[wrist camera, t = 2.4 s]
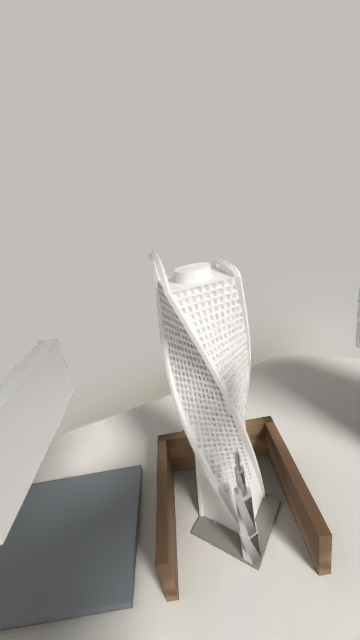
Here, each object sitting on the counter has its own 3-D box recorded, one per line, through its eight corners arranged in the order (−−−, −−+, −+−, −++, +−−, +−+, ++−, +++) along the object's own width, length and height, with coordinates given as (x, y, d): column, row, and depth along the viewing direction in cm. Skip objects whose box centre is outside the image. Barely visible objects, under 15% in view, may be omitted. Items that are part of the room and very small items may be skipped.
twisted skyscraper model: (179, 528, 31) (107, 263, 21) (214, 468, 37) (171, 241, 27) (258, 571, 26) (214, 255, 16) (283, 494, 32) (262, 230, 22)
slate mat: (142, 469, 38) (141, 465, 38) (132, 607, 25) (130, 602, 25) (20, 491, 38) (18, 486, 38) (-53, 639, 25) (-57, 634, 25)
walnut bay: (272, 446, 38) (270, 415, 36) (330, 573, 25) (332, 534, 23) (165, 465, 38) (157, 435, 36) (167, 601, 25) (155, 565, 23)
